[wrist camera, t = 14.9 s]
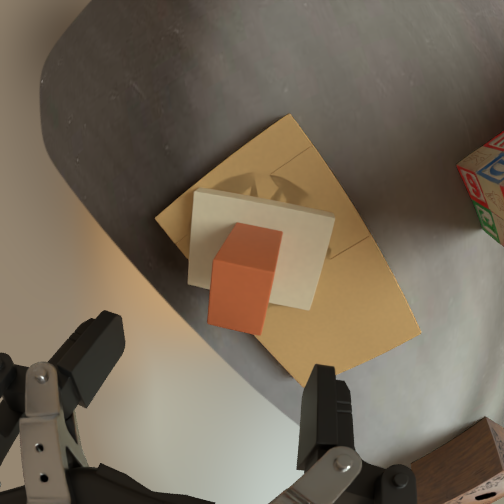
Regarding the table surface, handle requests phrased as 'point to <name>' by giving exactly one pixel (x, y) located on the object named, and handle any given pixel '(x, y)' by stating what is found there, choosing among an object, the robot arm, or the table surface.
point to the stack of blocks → (487, 185)
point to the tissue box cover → (464, 468)
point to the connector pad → (269, 213)
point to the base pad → (335, 264)
